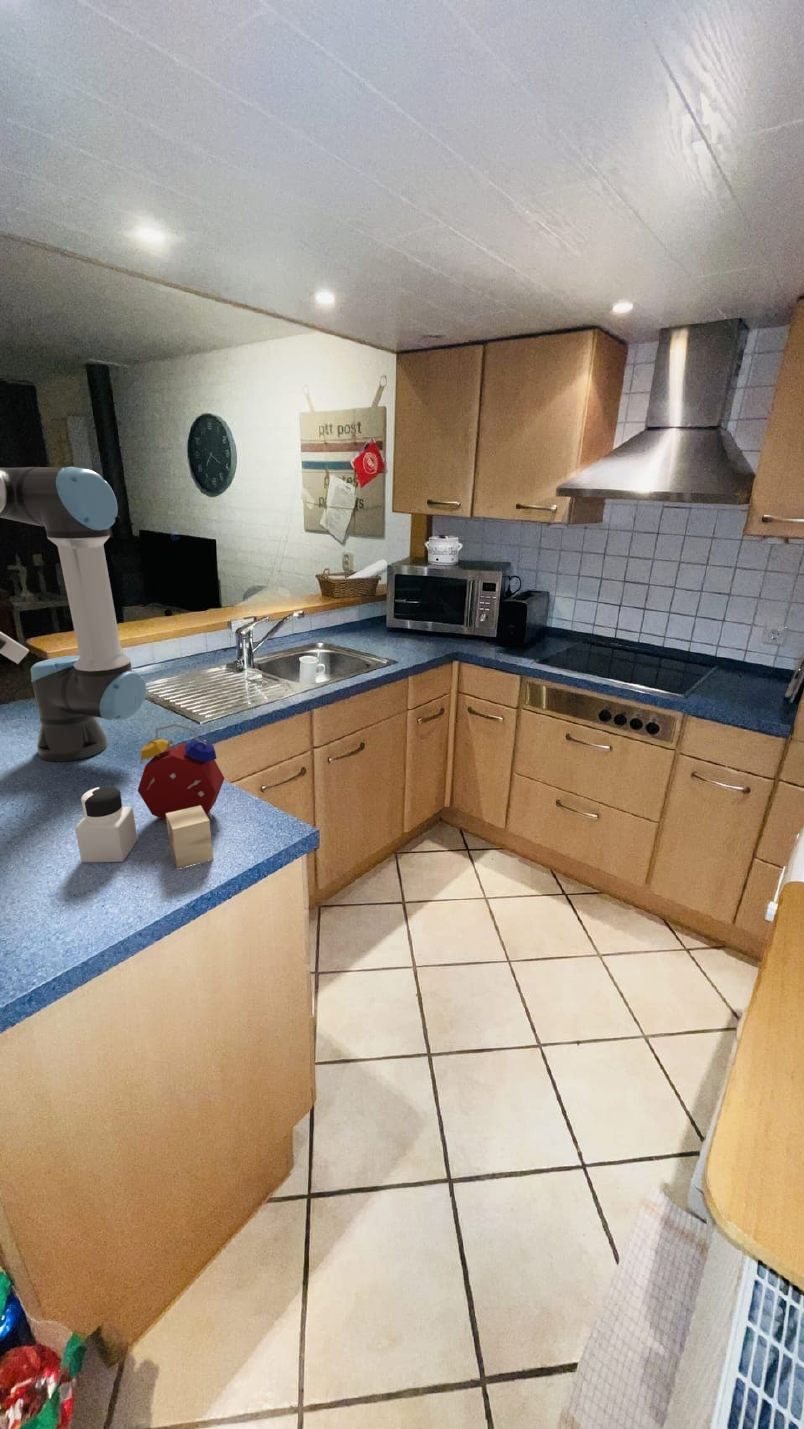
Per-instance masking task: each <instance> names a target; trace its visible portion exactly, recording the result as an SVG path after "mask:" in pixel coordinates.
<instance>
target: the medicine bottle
mask: <svg viewBox="0 0 804 1429" xmlns="http://www.w3.org/2000/svg"><path fill="white" fill-rule="evenodd" d="M80 801H81V805H82V806H81V807H82V811H83V816H84V817H83V818H82V819H81V820H80V821H79V822H78V824H77V825H76V826H75V827H74V830H75V836H76V842H77V845H78V852H79V854H80V855H79V856H80V860H81V863H123V862H124V861H125V859H126V858H127V856H128V855H129V853H130V852H131V850H132V849H133V847H134V845H135V844H136V842H137V841H138V834H137V830H136V829H137V828H136V822H135V814H134V809H133V807H132V806H123V802H122V794H121V791H120V789H118V788H117V787H114V786H98V787H94V788H92V789H89V790H87V791H86V792H84V794H83V795H82V796H81V798H80Z"/></svg>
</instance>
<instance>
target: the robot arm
mask: <svg viewBox="0 0 804 1429" xmlns="http://www.w3.org/2000/svg"><path fill="white" fill-rule="evenodd" d="M118 510H119V508H118V502H117V498H116V496H115V493H114V490H113V489H112V486H110V484H109V483H108V481H106V480H105V479H104V478H103V477H102V476H101V474H99V473H97V472H95V471H94V470H91V469H88V468H82V467H74V466H66V467H64V466H63V467H62V466H61V467H59V466H58V467H57V466H51V467H45V466H43V467H42V466H41V467H40V466H30V467H29V466H27V467H0V518H1V519H6V520H11V521H15V522H20V523H23V524H24V523H25V524H27V525H33V526H39V527H44V529H45V532H46V538H47V540H49V541H51V543H53V544H54V545H56V546H57V551H58V555H59V559H60V564H61V570H62V575H63V580H64V586H65V591H66V595H67V600H68V605H69V610H70V615H71V620H72V625H73V630H74V634H75V640H76V645H77V650H78V655H77V654H76V655H65V656H64V655H63V656H59V657H53V658H49V659H45V660H42V661H39V662H36V663H35V664H33V665H32V666H31V667H30V676H31V677H30V678H31V683H32V684H31V685H32V688H33V693H34V697H35V702H36V706H37V711H38V717H39V722H40V727H39V732H38V733H39V734H38V739H37V745H36V747H37V753H38V756H39V758H40V759H43V760H45V761H48V762H71V761H76V760H77V761H78V760H81V759H82V760H83V759H87V758H89V757H92V756H95V755H97V754H99V753H102V752H103V751H104V750H105V749H107V747H108V744H109V743H108V738H107V735H106V733H105V731H104V729H103V727H102V726H101V724H100V723H99V721H98V719H97V718H100V719H104V720H106V721H113V720H114V721H126V720H128V719H131V718H132V717H134V716H135V715H136V714H138V712H139V711H140V710H141V708H142V705H144V702H145V699H146V696H147V684H146V680H145V679H144V677H143V676H141V674H140V673H138V672H137V671H135V670H133V668H132V662H131V659H130V657H129V656H127V655H126V654H124V653H123V652H122V647H121V641H120V640H121V639H120V634H119V628H118V622H117V618H116V611H115V606H114V599H113V593H112V587H111V582H110V577H109V571H108V563H107V560H106V559H107V558H106V553H105V547H104V546H105V545H104V544H105V543H106V542H107V541H108V539H109V538H110V537H111V536H110V530H109V528H111V527H112V526H113V525H114V524H115V522H116V518H117V517H118ZM29 652H30V650H29V648H27V647H26V646H24V645H22V644H21V643H19V642H18V641H16V640H14V639H13V638H12V637H11V636H8V635H7V634H6V633H3V632H2V631H0V654H1V655H2V656H4V657H6V658H8V659H9V660H10V661H12V662H14V663H16V665H19V664H20V662H21V661H22V660H23V659H24V658H25V657H26V656H27V654H28V653H29Z"/></svg>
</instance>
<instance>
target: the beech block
mask: <svg viewBox="0 0 804 1429" xmlns="http://www.w3.org/2000/svg"><path fill="white" fill-rule="evenodd" d="M210 823H211V822H210V818H208V817H207V815H206V814H205V812H204V810H203V808H202V807H201V805H200V806H195V807H191V808H187V809H182V810H178V811H174V812H170V813H166V828H167V834H168V842H169V850H170V854H171V856H173V857H172V859H173V861H174V863H175V866H176V868H178V869H179V870H181V869H180V868H182V869H185V868H184V867H186V866H190V865H193V864H197V865H199V864H198V863H200V864H203V863H202V862H204V863H206V862H205V861H207V862H209V861H208V860H211V859H213V860H214V854H213V843H212V835H211V834H212V833H211V824H210ZM211 861H212V860H211ZM193 866H194V865H193ZM190 867H191V866H190ZM186 868H187V867H186ZM178 869H177V870H178Z"/></svg>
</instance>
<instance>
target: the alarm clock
mask: <svg viewBox="0 0 804 1429" xmlns="http://www.w3.org/2000/svg"><path fill="white" fill-rule="evenodd" d="M174 727H177V728H181V729H185V730H188V731H191V732H194V738H195V740H192V741H191V742H189V743H187V744H186V743H180V744H177V745H175V744H174V742H175V739H173V738H171V739H170V740H169V741H168V740H166V739H164V738H161V739H159V733H158V732H159V731H161V730H165V729H169V728H174ZM154 730H155V731H154V732H155V738H153V739H151V738H148V739H147V741H148V742H147V744H146V745H145V746H143V747H142V748H141V750H140V753H141V754H140V761H143V760H148V759H150V760H149V761H148V762H147V763H146V764H145V766H144V769H143V772H142V774H141V779H140V781H139V785H138V787H137V792H138V793H139V795H140V797H141V799H142V800H143V802H144V804H145V806H146V807H147V808H148V810H149V812H150V813H151V815H152V816H155V817H157V818H159V819H163V820H166V813H170V812H174V811H178V810H182V809H187V808H191V807H195V806H200V805H201V807H202V808H203V810H204V812H205V814H206V815H207V817H208V819H212V818H213V815H212V813H211V810H212V808H213V806H214V805H215V804H216V802H217V800H218V797H219V794H220V792H221V789H222V786H223V783H224V781H225V777H224V775H223V773H222V771H221V769H220V767H219V766H218V764H217V761H216V760H217V753H216V750H215V746H214V745H213V744H211V743H210V742H208V741H207V740H205V739H204V740H200V739H199V738H198V733H197V729H195V728H190V727H188V726H183V725H180V724H177V723H174V724H169V725H166V726H161V727H158V728H155V729H154ZM172 745H173V747H171V746H172ZM166 821H167V820H166Z"/></svg>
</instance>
